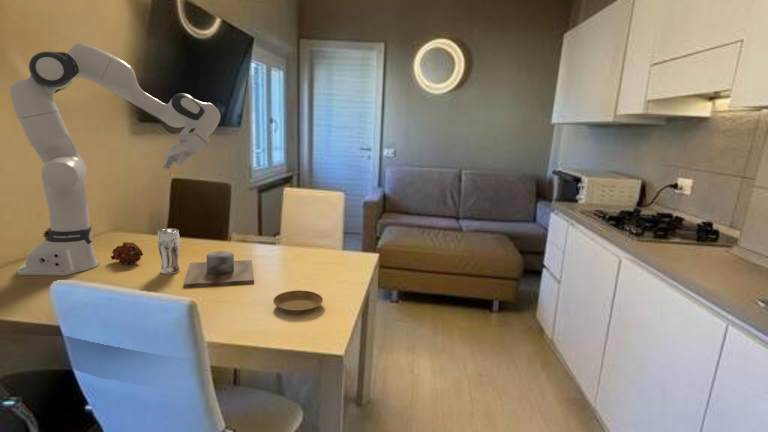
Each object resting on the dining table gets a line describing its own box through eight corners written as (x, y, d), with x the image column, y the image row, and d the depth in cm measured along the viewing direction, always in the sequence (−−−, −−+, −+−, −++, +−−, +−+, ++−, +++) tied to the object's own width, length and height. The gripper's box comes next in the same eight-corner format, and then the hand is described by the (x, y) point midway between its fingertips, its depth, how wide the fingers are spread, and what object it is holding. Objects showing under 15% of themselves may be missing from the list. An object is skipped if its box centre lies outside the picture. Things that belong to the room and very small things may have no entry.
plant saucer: (332, 308, 132) (332, 300, 132) (293, 323, 121) (293, 314, 121) (302, 294, 142) (302, 286, 141) (263, 306, 131) (263, 298, 130)
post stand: (183, 287, 141) (182, 266, 139) (189, 265, 161) (189, 247, 160) (254, 283, 148) (253, 263, 146) (251, 263, 168) (251, 245, 167)
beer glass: (184, 269, 158) (183, 229, 155) (174, 275, 151) (172, 233, 148) (166, 267, 158) (164, 227, 155) (155, 273, 151) (152, 232, 148)
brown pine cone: (140, 270, 158) (115, 270, 162) (153, 252, 164) (128, 252, 168) (125, 255, 152) (99, 255, 156) (139, 237, 158) (114, 237, 162)
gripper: (172, 138, 167) (151, 165, 160) (198, 127, 154) (177, 155, 147) (185, 149, 171) (165, 176, 164) (212, 139, 158) (192, 168, 151)
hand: (171, 166), depth 155 cm, fingers open, 8 cm apart
